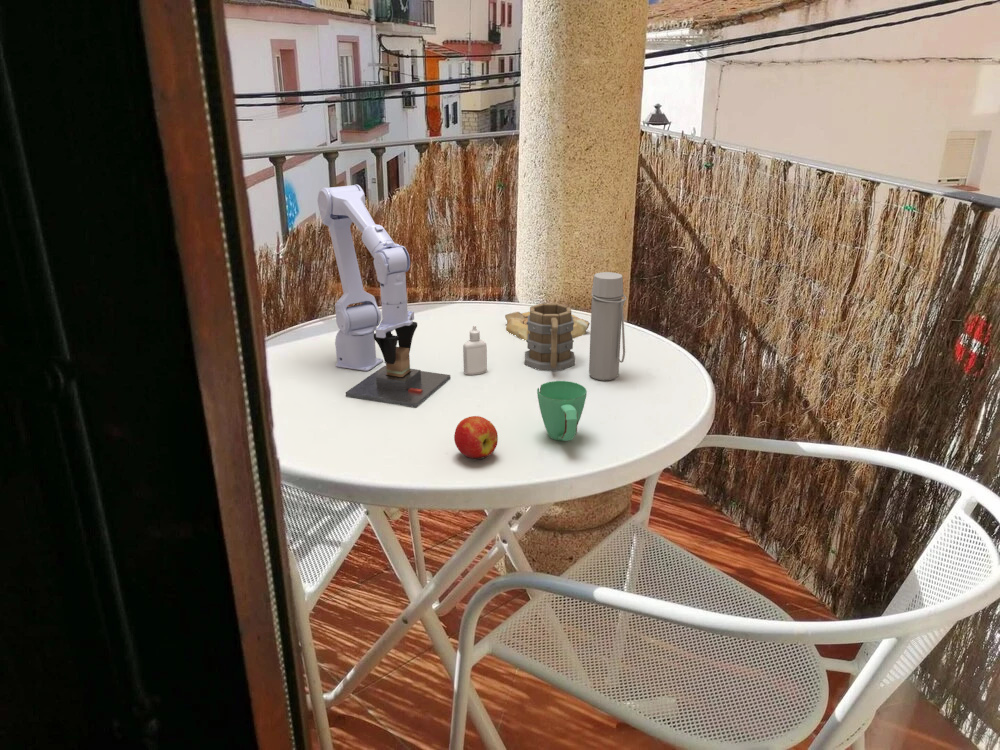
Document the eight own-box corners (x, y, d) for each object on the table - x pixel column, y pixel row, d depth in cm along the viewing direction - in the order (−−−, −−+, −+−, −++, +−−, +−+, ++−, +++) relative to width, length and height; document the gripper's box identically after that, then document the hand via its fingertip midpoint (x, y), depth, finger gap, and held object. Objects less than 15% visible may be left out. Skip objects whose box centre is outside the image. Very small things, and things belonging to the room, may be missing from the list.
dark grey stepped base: (345, 396, 174) (344, 382, 173) (384, 369, 190) (383, 356, 188) (416, 407, 168) (415, 393, 167) (450, 378, 183) (449, 365, 182)
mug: (532, 426, 159) (532, 382, 155) (578, 423, 160) (579, 379, 156) (546, 459, 145) (547, 411, 141) (596, 455, 147) (598, 408, 143)
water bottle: (581, 377, 184) (585, 276, 175) (600, 368, 189) (605, 269, 180) (613, 386, 178) (618, 282, 169) (631, 377, 183) (638, 276, 174)
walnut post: (386, 374, 176) (385, 351, 174) (395, 369, 180) (393, 346, 178) (402, 377, 175) (400, 353, 173) (410, 371, 178) (408, 348, 176)
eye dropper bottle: (485, 376, 185) (484, 329, 181) (462, 375, 186) (461, 328, 181) (487, 369, 189) (487, 323, 185) (465, 368, 190) (464, 322, 185)
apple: (470, 470, 142) (469, 431, 139) (446, 453, 148) (445, 416, 145) (505, 458, 146) (504, 420, 143) (480, 442, 152) (479, 405, 149)
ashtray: (592, 344, 207) (592, 326, 205) (504, 344, 207) (504, 326, 206) (584, 317, 229) (584, 301, 227) (505, 317, 229) (505, 301, 228)
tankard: (524, 352, 200) (525, 297, 194) (572, 353, 200) (574, 297, 194) (524, 381, 181) (525, 321, 176) (577, 382, 181) (579, 322, 175)
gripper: (394, 311, 163) (398, 370, 168) (424, 294, 176) (427, 349, 181) (365, 308, 166) (370, 366, 171) (397, 291, 178) (400, 346, 183)
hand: (397, 357), depth 176 cm, fingers open, 7 cm apart
